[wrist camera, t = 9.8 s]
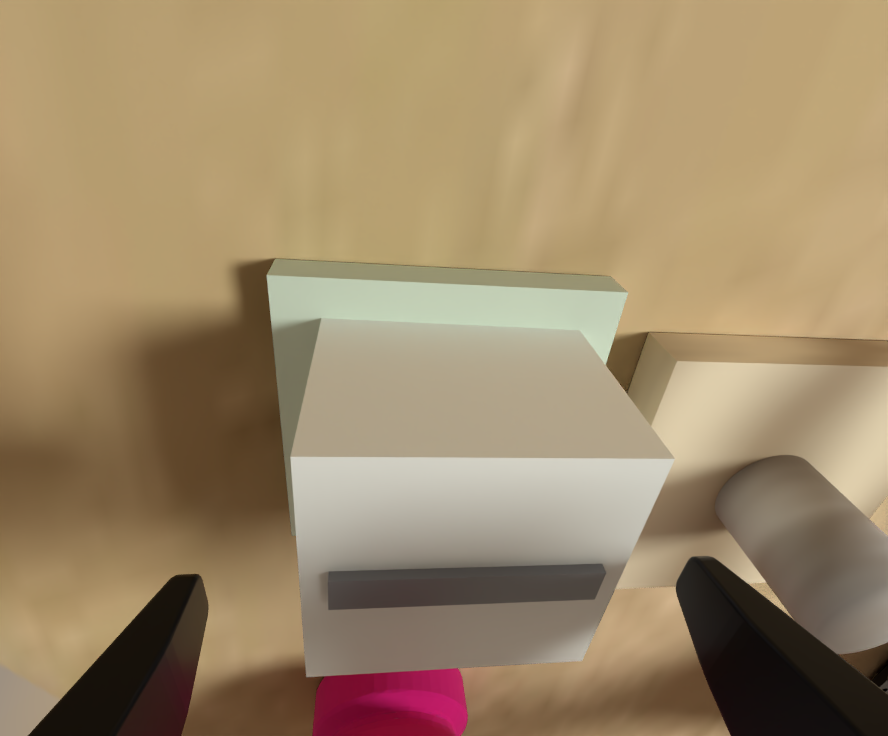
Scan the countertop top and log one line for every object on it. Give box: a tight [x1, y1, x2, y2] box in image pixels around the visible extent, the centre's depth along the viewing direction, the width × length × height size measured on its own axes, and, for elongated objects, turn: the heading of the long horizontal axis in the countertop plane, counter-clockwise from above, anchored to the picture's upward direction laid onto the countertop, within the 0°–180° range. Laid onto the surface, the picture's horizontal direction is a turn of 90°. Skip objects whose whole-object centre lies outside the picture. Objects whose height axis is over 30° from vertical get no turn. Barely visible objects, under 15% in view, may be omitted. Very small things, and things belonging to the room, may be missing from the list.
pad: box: [267, 259, 628, 536], centre depth 13 cm, size 8×8×1 cm
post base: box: [615, 332, 888, 654], centre depth 14 cm, size 9×9×6 cm
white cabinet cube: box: [290, 318, 675, 677], centre depth 11 cm, size 6×6×5 cm
